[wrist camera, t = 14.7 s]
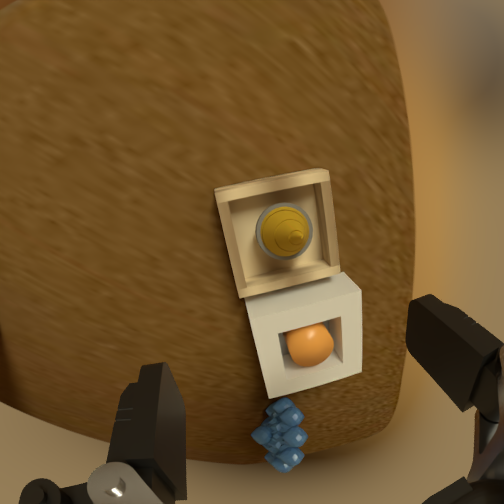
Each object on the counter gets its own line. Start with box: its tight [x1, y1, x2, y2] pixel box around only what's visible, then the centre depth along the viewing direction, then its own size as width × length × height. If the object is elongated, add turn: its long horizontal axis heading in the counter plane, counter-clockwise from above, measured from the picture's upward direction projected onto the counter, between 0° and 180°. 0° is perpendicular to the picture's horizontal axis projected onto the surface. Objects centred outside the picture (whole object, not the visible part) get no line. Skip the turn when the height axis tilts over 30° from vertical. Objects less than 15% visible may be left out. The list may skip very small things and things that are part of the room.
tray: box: [214, 168, 340, 299], centre depth 32 cm, size 11×11×3 cm
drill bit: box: [255, 203, 313, 260], centre depth 28 cm, size 5×5×10 cm
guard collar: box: [244, 272, 362, 399], centre depth 36 cm, size 12×12×5 cm
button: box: [282, 322, 334, 367], centre depth 35 cm, size 5×5×4 cm
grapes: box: [251, 397, 308, 473], centre depth 36 cm, size 12×7×12 cm, turn 168°
